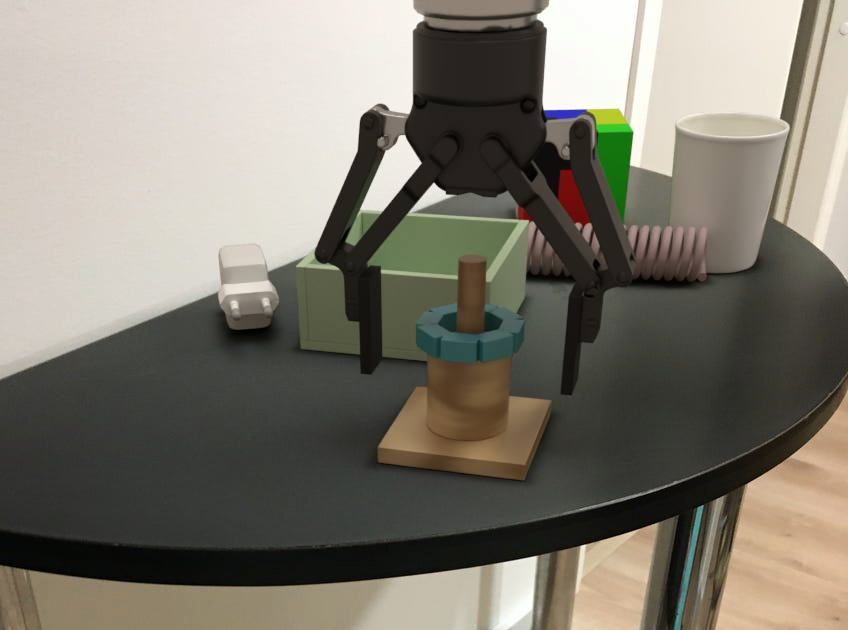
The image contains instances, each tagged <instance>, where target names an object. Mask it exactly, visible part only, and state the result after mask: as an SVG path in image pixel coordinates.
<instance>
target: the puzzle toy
mask: <svg viewBox="0 0 848 630" xmlns="http://www.w3.org/2000/svg"><path fill="white" fill-rule="evenodd" d="M544 112H545V115H546V117H547V119H548V120H556V119H569V118H577V117H578V115H580V114H581V113H583V112H590V113H592V114H593V115H594V116H595V118H596V136H597V155H598V157H599V160H600V163H601V165H602V168H603V171H604V174H605V176H606V179H607V182H608V184H609V187H610V190H611V193H612V195H613V198H614V201H615V203H616V206H617V209H618V212H619V214H620V217H621V220H622V222H623V225H625V224H624V222H625V216H626V215H625V214H626V205H627V197H628V195H627V194H628V187H629V179H630V178H629V177H630V168H631V160H632V150H633V141H634V140H633V139H634V133H635V132H634V130H633V129H632V127H631V125H630V123H629V122H628V121H627V119H626V118H625V116H624V114H623V113H622V112H621V109H620V108H583V109H581V108H580V109H576V108H575V109H544ZM533 161H534V163H535V164H536V166H537V167H538V168H539V170H540V171H541V173H542V174H543V176H544V177H545V179H546V183H547V185H548V187H549V188H550V190H551V191H552V193H553V194H554V195H555V197H556V198H557V200H558V201H559V203H560V204H561V205H562V207H563V208H564V210H565V211H566V213H567V214H568V215H569V217H570V218H571V220H572V221H573V222H574V224H576V223H580V224H581V225H582V227H583V229H584V227H585V225H586V224H588V223H591V222H590V219H589V217H588V214H587V212H586V209H585V206H584V204H583V201H582V198H581V196H580V193H579V191H578V188H577V185H576V183H575V180H574V177H573V174H572V170H571V165H570V160H565V159H563V158H561V157H560V155H559V153H558V150H557V147H556V146H555V145H554V144H553V143H551V142H546V143H545V144H544V146H543V147H542V148H541V150H540V151H539V152H538V154H537V155H536V156H535V157H534V159H533ZM514 212H515V217H516V220H529V223H530V222H532V219H531V218H530V216H529V215H528V214H527V212H526V211H525V210H524V209H523V208H522V207H520V206H519V205H518V204H517V203H516V202H515V207H514Z"/></svg>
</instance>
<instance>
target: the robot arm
mask: <svg viewBox="0 0 848 630" xmlns="http://www.w3.org/2000/svg"><path fill="white" fill-rule="evenodd" d="M549 6H550V0H412V7H413V10H414V11H415V12H416V13H417V14H419V15H421V16H423V20H421V21H419V22H417V24H416V26H415V28H414V29H412V104H411V109H410V111H409V113H406V112H400V111H399V112H398V111H394V110H390V108H389V107H388V106H387V105H386V104H384V103H382V102H381V103H376V104H374V106H372V107H371V108H369V109H368V110H366V111H365V112H363V114H362V115H361V116H360V118H359V126H358V137H357V138H358V140H357V151H356V154H355V156H354V157H353V161H352V163H351V165H350V167H349V170H348V172H347V174H346V176H345V179H344V181H343V183H342V185H341V188H340V191H339V193H338V195H337V198H336V200H335V203H334V205H333V207H332V210H331V212H330V214H329V217H328V218H327V220H326V223H325V225H324V228H323V231H322V233H321V234H320V237H319V239H318V241H317V245H316V246H315V248H316V249H315V252H314V255H315V258H316V260H317V261H318V262H319V263H322V264H327V263H329V264H331V265H333V266H336V267H337V268H339V269H340V270H341V272H342V273H343V276H344V292H345V314H346V316H347V319H348V321H354V322H359V335H360V355H359V362H360V365H359V367H360V374H361V375H369V376H372V375H373V374H374V372H375V370H376V369H377V368H378V367H379V365H380V364H381V362H382V361H383V358H384V357H382V298H381V266H374V265H370V266H369V267H368V261H369V260H370V259H371V257H372V256H373V255H374V254H375V252H376V251H377V250H378V249H379V248H380V246H381V245H382V244H383V243H384V242H385V240H386V239H387V238H388V237H389V236H390V234H391V233H392V232H393V231H394V230H395V228H396V227H397V226H398V225H399V224H400V222H401V221H402V220H403V219H404V218H405V216H406V215H407V214H408V213H411V210H412V209H413V208H414V207H415V206H416V205H417V204H418V202H419V201H420V200H421V199H422V198H423V196H424V195H425V194H426V193H427V192H428V190H429V189H430V188H431V187H432V186H433V184H435V186H436V187H438V189H440V190H442V191H444V192H445V195H446V196H461V195H467V194H473V195H477V196H480V197H483V198H497V197H498V195H502V194H504V193H507V192H508V193H509V195H510V196H511V197H512V199H513V200H514V201H515V204H516V203H517V204H518V205H519V206H520V207H522V208H523V209H524V210H525V211H526V212H527V214H528V215H529V216H530V218H531V219H532V221H533V222H534V223H535V225H536V226H537V228H538V229H539V230H540V232H541V233H542V235H543V236H544V237H545V239H546V240H547V242H548V243H549V244H550V246H551V247H552V249H553V250H554V251H555V253H556V254H557V256H558V257H559V258H560V260H561V261H562V262H563V266H564V265H565V267H566V268H567V269H568V271H569V272H570V274H571V275H570V276H571V277H572V278H573V279H574V284H573V285H572V289H571V290H570V293H569V295H568V301H567V311H566V312H567V313H566V323H565V334H564V335H565V336H564V346H563V347H564V348H563V359H562V371H561V382H560V383H561V384H560V393H559V395H561V396H570V397H572V396H573V394H574V391H575V389H576V386H577V383H578V381H579V374H580V365H581V364H580V363H581V353H582V343H584V344H594V343H595V341H596V339H597V337H598V335H599V333H600V331H601V325H602V315H603V307H604V299H605V298H604V296H605V293H606V292H607V291H609V290H611V289H615V288H627V287H629V286H630V285H631V283H633V280H634V279H633V277H634V274H635V271H636V268H637V260H636V258H635V255H634V252H633V250H632V247H631V244H630V241H629V239H628V236H627V233H626V231H625V228H624V225H625V224H623V222H622V220H621V217H620V214H619V212H618V209H617V206H616V203H615V201H614V198H613V195H612V193H611V190H610V187H609V184H608V182H607V179H606V176H605V174H604V171H603V168H602V165H601V163H600V160H599V157H598V155H597V136H596V118H595V116H594V115H593V114H592V113H590V112H583V113H581V114H580V115H578V117H577V118H569V119H556V120H548V119H547V117H546V115H545V112H544V110H545V109H544V101H543V100H544V84H545V83H544V82H545V69H546V67H545V66H546V53H547V37H548V29H547V27H546V26H545V25H544V22H543V20H540V19H538V15H539V14H541V13H543V11H545V10H546V9H547V8H548V7H549ZM400 136H405V139H406V141H407V142H408V144H409V146H410V148H411V149H412V150H413V152H414V154H415V156H416V157H417V158H418V160H419V161H420V165H419V166H418V167H417V168H416V169H415V170H414V172H413V173H412V175H411V176H410V177H409V178H408V179H407V180H406V181H405V183H404V184H403V185H402V187H401V189H399V191H398V192H397V193H396V194H395V196H394V197H393V198H392V200H391V201H390V202H389V203H388V204H387V206H386V207H385V208H384V209H383V210H382V211H383V212H382V213H381V214H380V215H379V217H378V218H377V219H376V220H375V222H374V223H373V224H372V225H371V227H370V228H369V229H368V230H367V231H366V233H365V234H364V235H363V236H362V238H361V239H360V240H359V241H358V242H357V244H356V245H355V246H354V245H351V244H349V243H347V242H346V240H347V237H348V235H349V233H350V231H351V229H352V226H353V224H354V222H355V220H356V217H357V215H358V213H359V211H360V210H361V208H362V206H363V204H364V202H365V199H366V197H367V195H368V193H369V190H370V188H371V186H372V184H373V182H374V179H375V177H376V175H377V173H378V171H379V168H380V165H381V164H382V161H383V159H384V157H385V154H386V151H389V150H391V149H392V148H393V147H394V146H395V145H396V144H397V143H398V140H399V137H400ZM546 142H551V143H553V144H554V145H555V146H556V147H557V150H558V153H559V155H560V157H561V158H563V159H565V160H570V165H571V170H572V174H573V177H574V180H575V183H576V185H577V188H578V191H579V193H580V196H581V198H582V201H583V204H584V206H585V209H586V212H587V214H588V217H589V219H590V222H591V225H592V227H593V230H594V233H595V235H596V238H597V240H598V243H599V246H600V248H601V251H602V253H603V256H604V259H605V261H606V263H604V264H602V262H601V261H600V259H599V258H598V257H597V255H596V254H595V252H594V251H593V249H592V248H591V247H590V245H589V244H588V242H587V241H586V240H585V238H584V237H583V235H582V234H581V232H580V231H579V230H578V228H577V227H576V225H575V224H574V222H573V221H572V220H571V218H570V217H569V215H568V214H567V213H566V211H565V210H564V208H563V207H562V205H561V204H560V203H559V201H558V200H557V198H556V197H555V195H554V194H553V193H552V191H551V190H550V188H549V187H548V185H547V183H546V179H545V177H544V176H543V174H542V173H541V171H540V170H539V168H538V167H537V166H536V164H535V163H534V161H533V159H534V157H535V156H536V155H537V154H538V152H539V151H540V150H541V148H542V147H543V146H544V144H545V143H546Z"/></svg>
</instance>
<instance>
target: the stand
mask: <svg viewBox="0 0 848 630" xmlns="http://www.w3.org/2000/svg"><path fill="white" fill-rule="evenodd" d="M486 265H487V259H486V257H484V256H482V255H477V254H468V255H463V256H461V257H459V259H458V285H457V328H456V332H454V333H465V334H476V335H477V334H481V333H485V332H487V331H484V317H485V291H486ZM512 357H513V356H510V357H506V358H502V359H498V360H494V361H490V362H486V363H482V362H480V361H479V360H477V362H476V363H475V364H472V363H462V362H452V361H442V360H440V357H438V358H433V357H432V356H430V355H429V354H427V361H426V386H418V385H417V386H416V387H415V388H414V389H413V391H412V392H411V394H410V396H409V397H408V399H407V400H406V402H405V404H404V405H403V406H402V408H401V410H400V411H399V413H398V415H397V416H396V417H395V419H394V420H393V422H392V424H391V426H390V427H389V428H388V430H387V432H386V433H385V435H384V436H383V438H382V440H381V441H380V443H379V444H378V445H377V463H378V464H386V465H387V464H388V465H395V466H403V467H410V468H418V469H426V470H435V471H443V472H451V473H452V472H453V473H459V474H468V475H474V476H475V475H476V476H484V477H491V478H499V479H507V480H508V479H509V480H516V481H525V479H526V478H527V476H528V472H529V470H530V467H531V464H532V462H533V459H534V457H535V455H536V452H537V450H538V447H539V444H540V441H541V439H542V437H543V434H544V432H545V430H546V427H547V425H548V422H549V419H550V417H551V410H552V400H551V399H542V398H532V397H525V396H524V397H523V396H514V395H513V396H512V395H511V378H512V376H511V375H512Z"/></svg>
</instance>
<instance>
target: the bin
mask: <svg viewBox="0 0 848 630" xmlns="http://www.w3.org/2000/svg"><path fill="white" fill-rule="evenodd" d="M383 211H384V210H370V209H360V211H359V213H358V215H357V217H356V220H355V222H354V224H353V226H352V229H351V231H350V233H349V235H348V237H347V240H346V242H347V243H349V244H351V245H354V246H355V245H356V244H357V242H358V241H359V240H360V239H361V238H362V236H363V235H364V234H365V233H366V231H367V230H368V229H369V228H370V227H371V225H372V224H373V223H374V222H375V220H376V219H377V218H378V217H379V215H380V214H381V213H382V212H383ZM528 233H529V220H517V219H513V218H498V217H496V218H495V217H483V216H482V217H480V216H467V215H450V214H448V215H447V214H433V213H420V212H419V213H418V212H409V213H408V214H407V215H406V216H405V218H404V219H403V220H402V221H401V222H400V224H399V225H398V226H397V227H396V228H395V230H394V231H393V232H392V233H391V234H390V236H389V237H388V238H387V239H386V240H385V242H384V243H383V244H382V245H381V246H380V248H379V249H378V250H377V251H376V252H375V254H374V255H373V256H372V257H371V259H370V260H369V261H368V267H369V266H370V265H374V266H381V298H382V358H389V359H398V360H399V359H400V360H410V361H420V362H421V361H422V362H427V353H426V352H424V351H423V350H421V349H420V348H418V347H417V344H416V323H417V322H418V320H419V319H420V318H421V316H422V315H423V313H424V312H429V309H432V308H437V307H441V306H446V305H450V304H455V303H457V285H458V259H459V257H461V256H463V255H468V254H477V255H482V256H484V257H486V259H487V265H486V291H485V304H491V305H498V308H501V307H506V308H507V309H509V310H511V311H513V312H515V313H516V314H518V311H519V310H520V308H521V305H522V304H523V302H524V300H525V299H526V280H527V274H526V266H527V250H528ZM315 249H316V247H314V248H313V249H312V250H311V251H310V252H309V253H308V254H307V255H306V256H304V258H303V259H302V260H301V261H299V262H298V263H297V264H296V265H295V278H296V279H295V280H296V281H295V282H296V295H297V296H296V297H297V309H298V311H297V312H298V326H299V341H300V342H299V343H300V349H301V350H308V351H318V352H326V353H327V352H328V353H338V354H347V355H349V354H350V355H359V356H360V335H359V322H354V321H348V319H347V316H346V314H345V292H344V276H343V273H342V272H341V270H340V269H339V268H337V267H336V266H333V265H331V264H329V263H327V264H322V263H319V262H318V261H317V260H316V258H315V255H314V252H315Z"/></svg>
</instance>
